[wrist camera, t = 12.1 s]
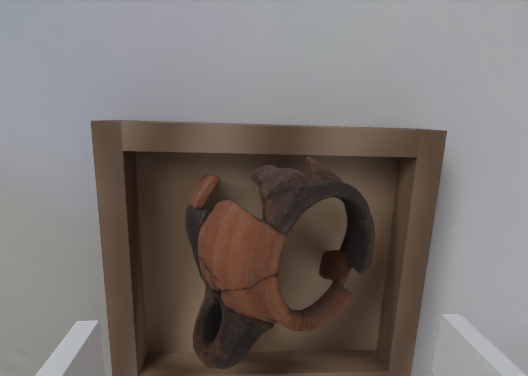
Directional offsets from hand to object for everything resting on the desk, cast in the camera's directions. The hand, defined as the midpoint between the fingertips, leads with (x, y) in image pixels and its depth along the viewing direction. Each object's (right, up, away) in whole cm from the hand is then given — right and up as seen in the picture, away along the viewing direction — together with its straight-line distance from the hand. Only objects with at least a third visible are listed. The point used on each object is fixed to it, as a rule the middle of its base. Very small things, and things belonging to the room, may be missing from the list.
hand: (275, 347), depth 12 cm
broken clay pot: (-1, +3, +8) cm, 9 cm away
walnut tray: (0, +2, +9) cm, 10 cm away
